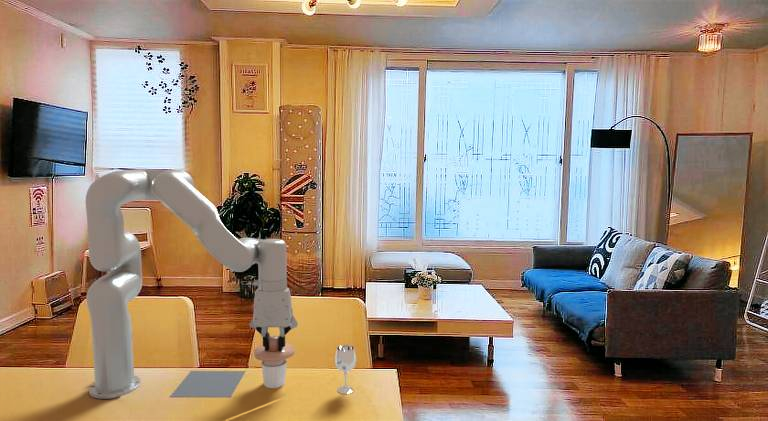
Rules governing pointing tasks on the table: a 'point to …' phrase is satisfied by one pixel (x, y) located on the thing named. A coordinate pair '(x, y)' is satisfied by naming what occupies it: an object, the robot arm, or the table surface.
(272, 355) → the lid
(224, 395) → the mat
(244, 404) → the table surface
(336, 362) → the wineglass
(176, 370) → the table surface
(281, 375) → the white cup
